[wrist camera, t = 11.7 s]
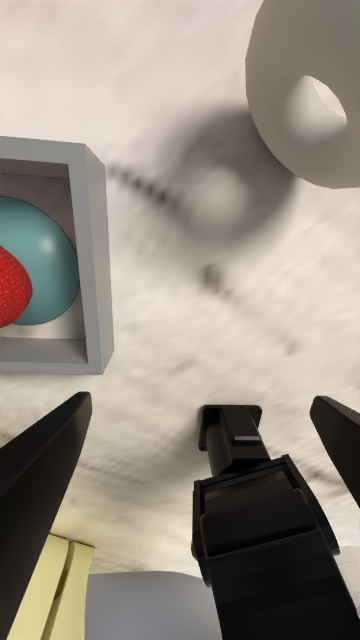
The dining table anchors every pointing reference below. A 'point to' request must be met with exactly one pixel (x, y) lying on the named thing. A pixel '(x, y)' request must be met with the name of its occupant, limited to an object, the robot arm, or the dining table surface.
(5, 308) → the strawberry
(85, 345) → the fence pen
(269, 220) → the dining table surface
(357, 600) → the dish
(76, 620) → the slatted curved stool
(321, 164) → the donut
